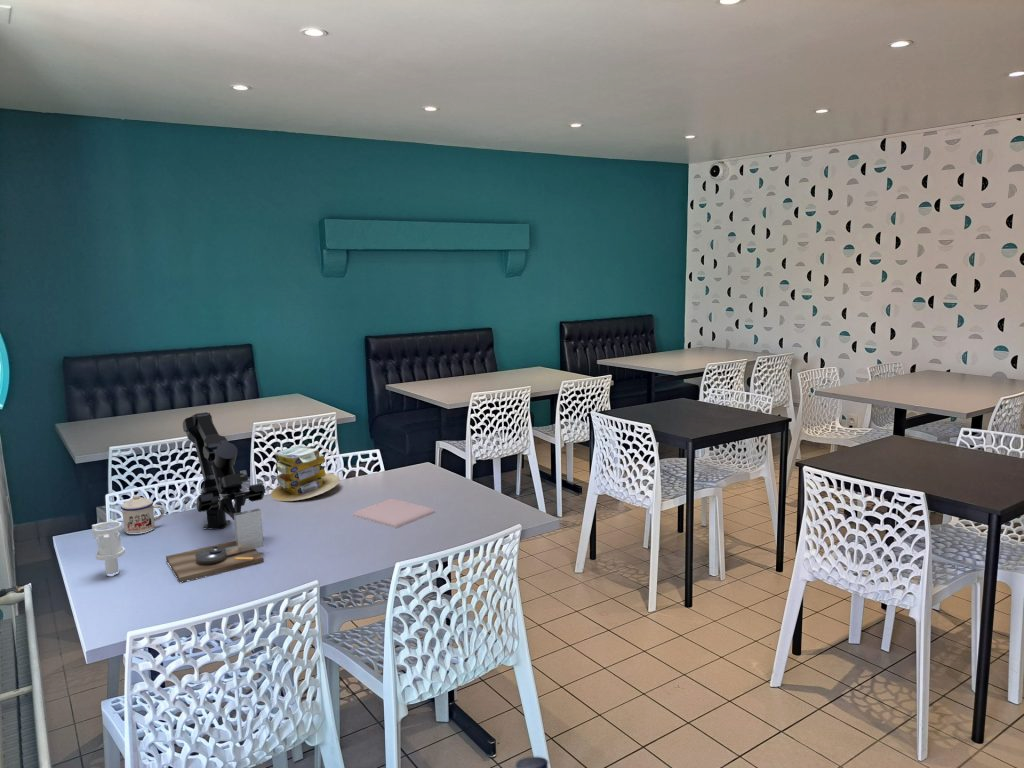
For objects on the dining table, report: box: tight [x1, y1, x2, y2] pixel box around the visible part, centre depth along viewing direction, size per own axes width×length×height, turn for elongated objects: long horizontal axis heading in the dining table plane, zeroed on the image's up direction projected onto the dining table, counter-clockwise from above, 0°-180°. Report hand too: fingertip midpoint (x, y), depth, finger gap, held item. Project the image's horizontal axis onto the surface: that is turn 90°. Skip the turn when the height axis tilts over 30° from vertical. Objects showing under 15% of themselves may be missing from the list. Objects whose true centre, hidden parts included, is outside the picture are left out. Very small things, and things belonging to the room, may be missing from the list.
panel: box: [352, 497, 436, 529], centre depth 240 cm, size 35×33×2 cm
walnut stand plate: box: [165, 539, 265, 583], centre depth 208 cm, size 18×22×2 cm
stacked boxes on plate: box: [270, 444, 341, 502], centre depth 269 cm, size 25×25×17 cm
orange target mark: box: [234, 557, 254, 560], centre depth 206 cm, size 5×1×1 cm, turn 87°
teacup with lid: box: [120, 494, 165, 533], centre depth 233 cm, size 12×9×12 cm
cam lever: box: [195, 508, 264, 564], centre depth 207 cm, size 18×8×11 cm, turn 125°
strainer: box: [91, 520, 126, 574], centre depth 200 cm, size 7×7×15 cm
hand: (238, 522), depth 213 cm, fingers closed
